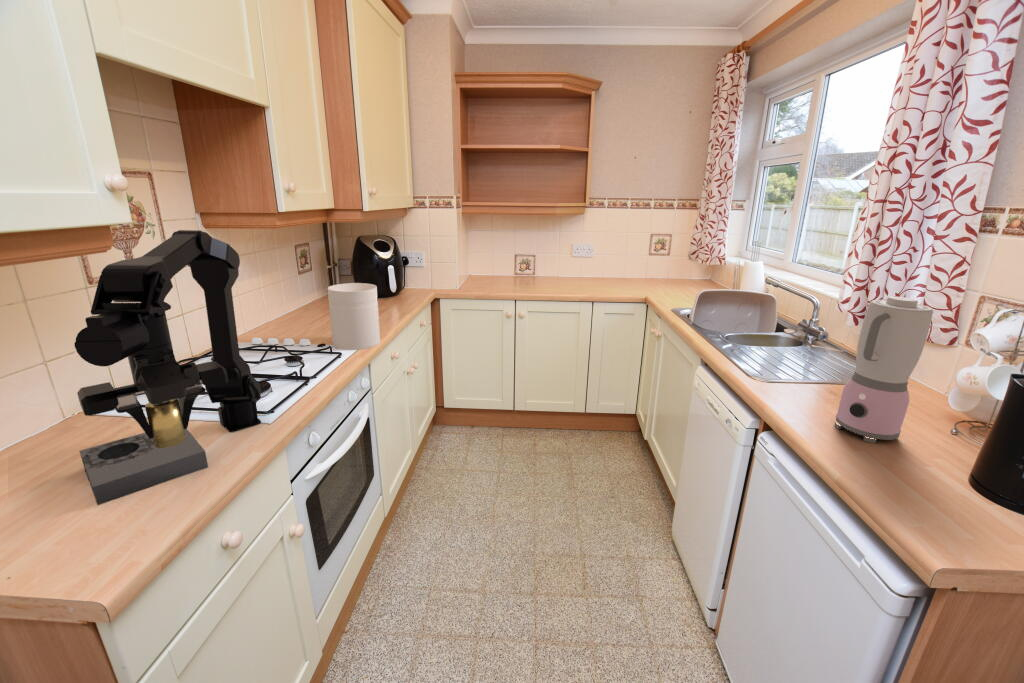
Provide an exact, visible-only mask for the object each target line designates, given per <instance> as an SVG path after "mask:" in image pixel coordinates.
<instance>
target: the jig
mask: <svg viewBox="0 0 1024 683" xmlns="http://www.w3.org/2000/svg"><path fill="white" fill-rule="evenodd" d="M184 430H185V435H186V439H185V441H183V442H182V443H180V444H178V445H175V446H172V447H167V448H157V447H155V446H154V444H153V439H150V438H149V437H148V436H147V434H146V433H145V432H142V433H138V434H136V435H135V434H134V435H132V436H128V437H124V438H120V439H118V440H114V441H110V442H107V443H103V444H98V445H96V446H95V445H94V446H91V447H89V448H84V449H81V450H79V453H80V458H81V461H82V464H83V468H84V470H85V475H86V476H87V480H88V482H89V486H90V487H91V491H92V494H93V496H94V498H95V502H96V505H97V506H100V505H103V504H106V503H108V502H111V501H114V500H117V499H120V498H122V497H126V496H128V495H131V494H135V493H137V492H140V491H143V490H146V489H149V488H152V487H155V486H158V485H160V484H163V483H167V482H169V481H172V480H175V479H178V478H181V477H183V476H186V475H190V474H193V473H195V472H198V471H201V470H204V469H208V468H209V463H208V460H207V454H206V449H204V448H203V446H202V445H201V444H200V442H198V440H196V438H195V436H193V434H192V433H191V432H190V430H188V428H187V429H184Z"/></svg>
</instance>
